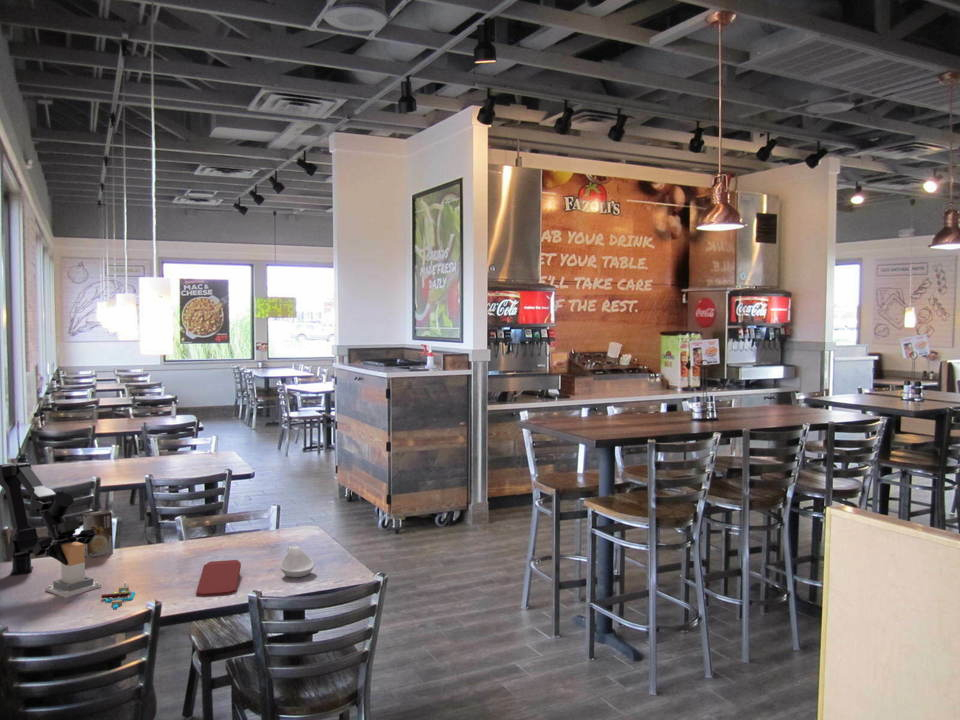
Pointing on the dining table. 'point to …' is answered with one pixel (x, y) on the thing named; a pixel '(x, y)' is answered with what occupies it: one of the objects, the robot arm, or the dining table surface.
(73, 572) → the orange and white block
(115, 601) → the turquoise and red toy
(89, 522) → the coffee box
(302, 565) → the spoon rest
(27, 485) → the robot arm
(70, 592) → the socket plate
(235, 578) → the red rounded slab
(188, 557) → the dining table surface
